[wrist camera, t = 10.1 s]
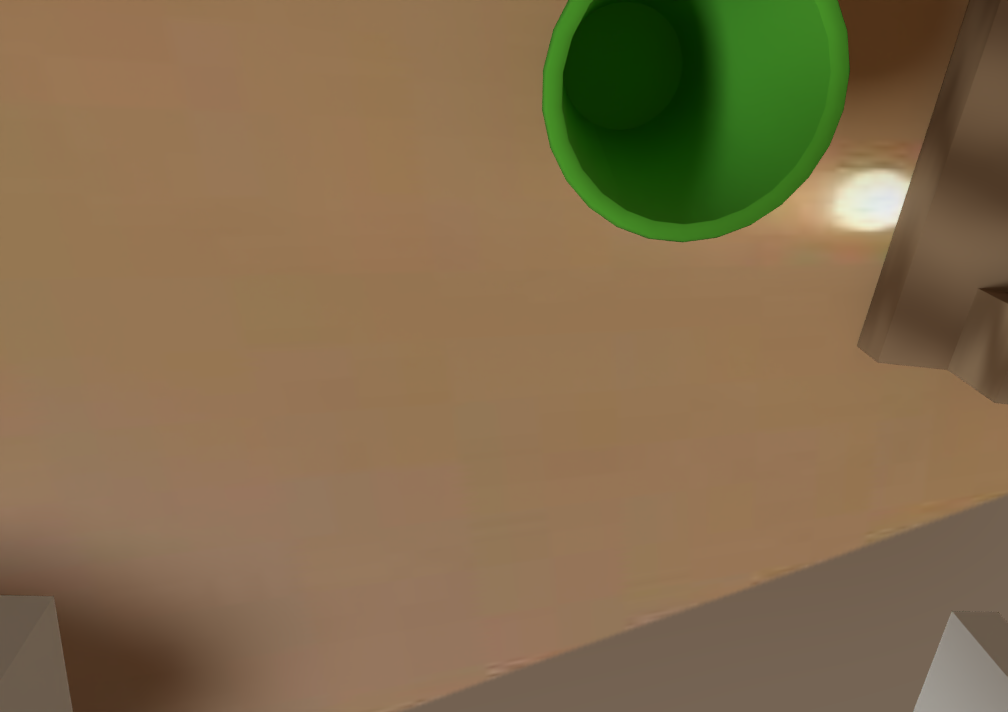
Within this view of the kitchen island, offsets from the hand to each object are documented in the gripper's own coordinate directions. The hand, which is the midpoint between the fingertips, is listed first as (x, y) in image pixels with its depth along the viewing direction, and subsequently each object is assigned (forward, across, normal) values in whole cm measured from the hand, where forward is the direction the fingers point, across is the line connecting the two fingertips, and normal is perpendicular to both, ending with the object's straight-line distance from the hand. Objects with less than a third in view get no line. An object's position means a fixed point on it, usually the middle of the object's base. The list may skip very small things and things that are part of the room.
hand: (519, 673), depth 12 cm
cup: (+26, +6, +7) cm, 28 cm away
